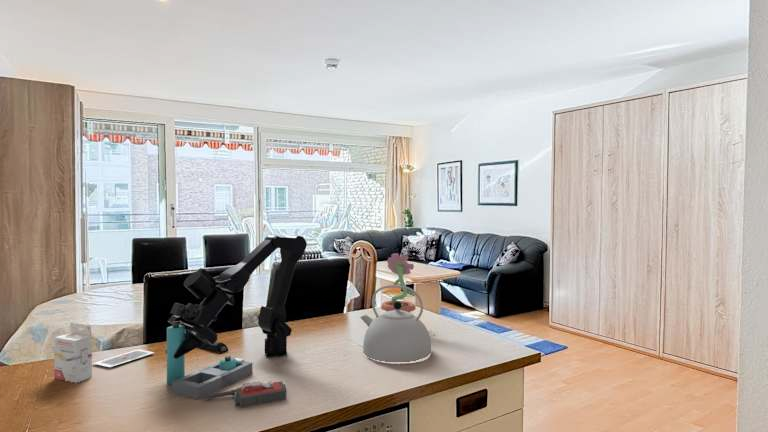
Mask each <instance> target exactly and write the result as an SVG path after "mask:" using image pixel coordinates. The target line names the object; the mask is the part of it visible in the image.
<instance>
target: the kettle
mask: <svg viewBox="0 0 768 432" xmlns="http://www.w3.org/2000/svg"><path fill="white" fill-rule="evenodd" d="M390 288H392V289H393V288H399V289H402V288H404V289H407V291H411V292H412V293H414V294H415V297H416V298H417V299H418V301H419V304H420V305H419V306H420V311H419V312H418V316H416V315H414V314H413V313H412V312H410V313H409V312H406V311H402V310H399V309H400V308H401V306H402V305H401V303H400V302H398V301H399V300H397V302H395V303H394V308H395V309H396V310H392V311H387V312H386V311H385V312H383V313H381V314H380V315H379V314H378V312H377V309H376V305H375V298H376V295H377V294H378V292H380V291H382V290H384V289H390ZM371 306H372V307H371V308H372V310H373V312H374V315H375V316H376V318H372V317H371V316H369V315H368V314H363V315H362V316H360V317H359V318H360V319H361V320H362V321H363V322H364V323H365V325H366V326H367V329H366V331H365V334H364V337H363V344H362V345H363V346H362V348H363V349H362V354H363V353H364V354H365V355H366V356H367V357H369V358H372V359H375V360H379V361H385V362H410V361H416V360H419V359H422V358H425V357H427V356H428V355H429V354H430V353H431V354H432V342H431V336H430V333H429V331H428V330H429V329H427V327H426V326H425V324H424V322H422V320H421V316H422V315H423V312H424V305H423V301H422V298H421V296H420V295H419V293H418V292H417V291H416V290H414V289H413V288H411V287H409V286H407V285H406V286H401V284H400V285H398V284H397V285H394V284H389V285H383V286H381V287H379V288H377V289H376V290H375V291H374V293H373V295H372V298H371Z"/></svg>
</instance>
